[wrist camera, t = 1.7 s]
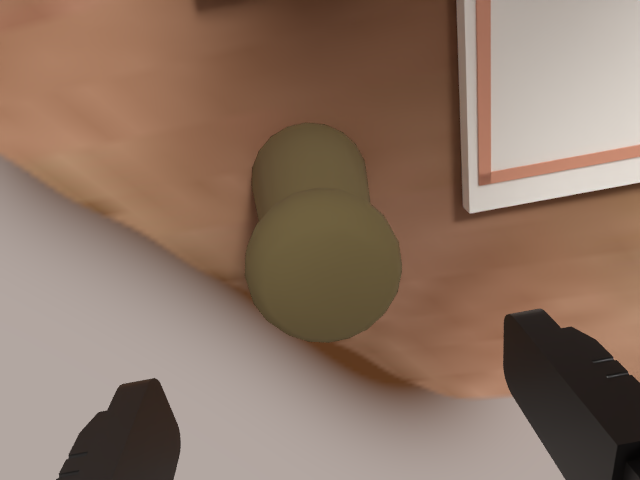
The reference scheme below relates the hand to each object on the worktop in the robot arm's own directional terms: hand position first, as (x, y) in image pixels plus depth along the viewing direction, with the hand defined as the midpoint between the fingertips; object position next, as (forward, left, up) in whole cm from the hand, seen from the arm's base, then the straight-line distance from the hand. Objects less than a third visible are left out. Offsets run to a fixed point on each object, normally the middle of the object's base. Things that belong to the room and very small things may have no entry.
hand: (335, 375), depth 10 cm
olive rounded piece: (0, 0, -15) cm, 15 cm away
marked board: (-4, +14, -14) cm, 21 cm away
